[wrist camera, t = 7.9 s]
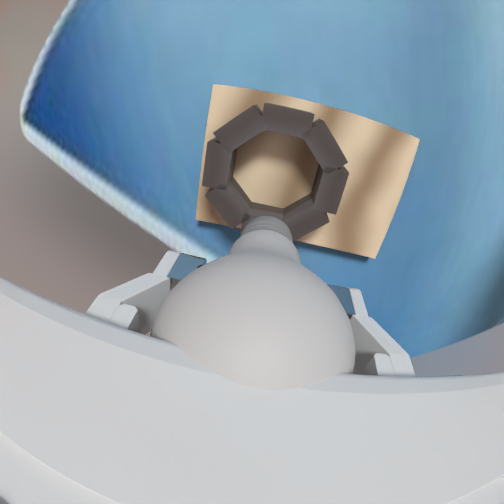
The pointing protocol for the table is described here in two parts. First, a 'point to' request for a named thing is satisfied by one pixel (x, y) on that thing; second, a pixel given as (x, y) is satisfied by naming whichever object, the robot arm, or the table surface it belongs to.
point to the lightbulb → (259, 315)
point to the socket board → (302, 169)
